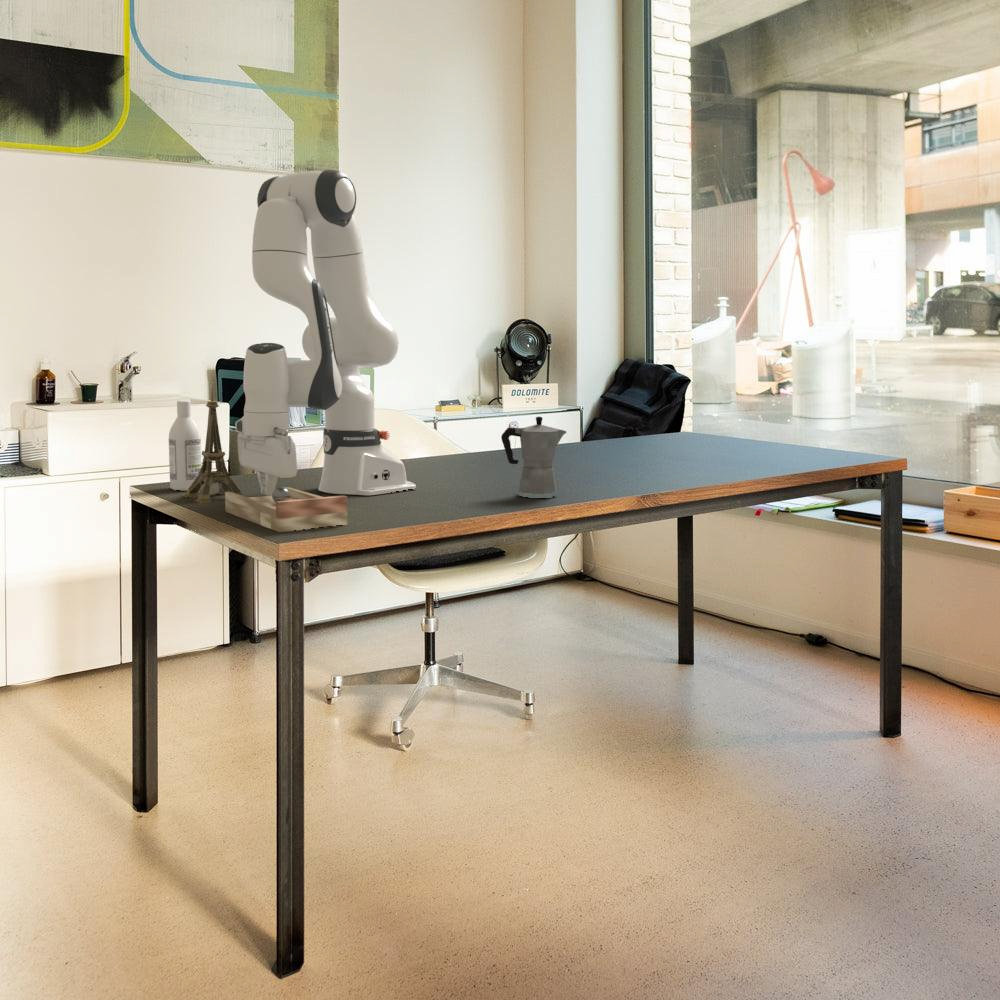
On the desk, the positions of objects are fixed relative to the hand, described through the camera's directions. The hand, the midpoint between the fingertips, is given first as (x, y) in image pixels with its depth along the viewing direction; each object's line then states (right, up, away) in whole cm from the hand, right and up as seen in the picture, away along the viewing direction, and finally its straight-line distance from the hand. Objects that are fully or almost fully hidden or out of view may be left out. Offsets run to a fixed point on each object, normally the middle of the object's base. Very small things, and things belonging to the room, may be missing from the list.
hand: (267, 494), depth 218 cm
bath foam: (-25, +1, +28) cm, 37 cm away
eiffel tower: (-15, -1, +18) cm, 24 cm away
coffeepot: (+54, 0, +28) cm, 61 cm away
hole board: (+5, -5, -6) cm, 9 cm away
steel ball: (+4, 0, -5) cm, 6 cm away
